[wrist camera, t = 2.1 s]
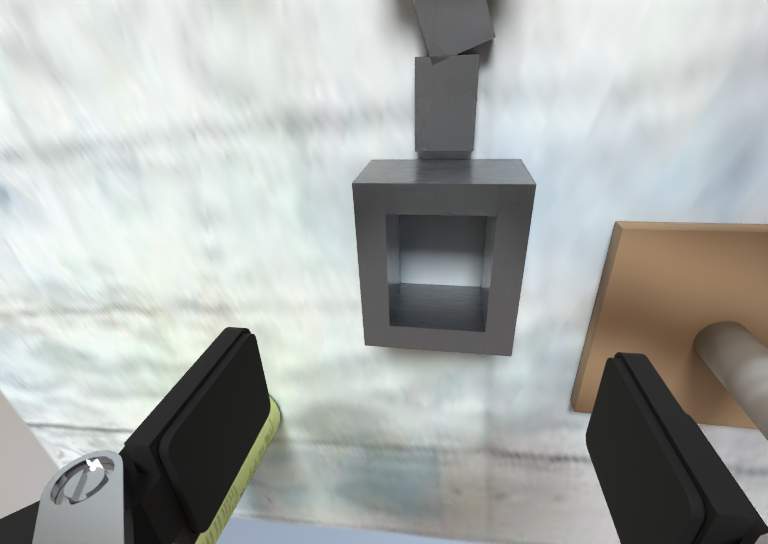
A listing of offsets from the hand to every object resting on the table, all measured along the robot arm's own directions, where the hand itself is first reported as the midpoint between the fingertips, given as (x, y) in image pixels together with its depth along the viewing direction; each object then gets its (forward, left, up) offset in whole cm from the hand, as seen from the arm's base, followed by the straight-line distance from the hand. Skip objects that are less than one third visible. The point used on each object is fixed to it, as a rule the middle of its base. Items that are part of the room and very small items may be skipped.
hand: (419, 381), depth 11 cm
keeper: (+3, +12, -8) cm, 15 cm away
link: (-1, 0, -8) cm, 8 cm away
